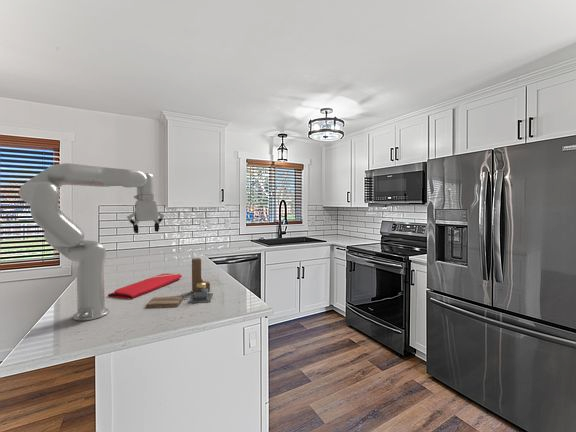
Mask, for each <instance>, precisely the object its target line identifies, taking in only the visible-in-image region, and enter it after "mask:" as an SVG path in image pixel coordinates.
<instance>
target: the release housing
mask: <svg viewBox="0 0 576 432" xmlns="http://www.w3.org/2000/svg"><path fill="white" fill-rule="evenodd" d="M212 297H214V293H213V292H209V291H208V288H206V289H196V290H195V292H194V293H192V295H191V296H190V299H189V301H188V303H189V304H195V303H199V304H200V303H211V302H212V299H213V298H212Z"/></svg>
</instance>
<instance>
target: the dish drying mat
mask: <svg viewBox="0 0 576 432" xmlns="http://www.w3.org/2000/svg"><path fill="white" fill-rule="evenodd" d="M182 277H183V275H182V274H180V273H178V274H177V273H161V274H159V275H155V276H152V277H149V278H146V279H144V280H141V281H138V282H135V283H132V284H129V285H126V286H123V287H120V288H117V289H116V290H114V292H112V293H108V294H107V297H109V298H116V299H117V298H118V299H128V300H133V299H137V298H138V297H141V296H143V295H146V294H149V293H151V292H153V291H154V290H158V289H160V288H162V287H165V286H167V285H168V284H171V283H174V282H176V281H178V280H179V279H181V278H182Z"/></svg>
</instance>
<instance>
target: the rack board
mask: <svg viewBox="0 0 576 432" xmlns="http://www.w3.org/2000/svg"><path fill="white" fill-rule="evenodd" d="M183 300H184V295H175V296H174V295H173V296H169V295H168V296H154V297H152V298H151V299H150V300H149V301H148V302H147V303H146V304H145V308H146V309H150V308H151V309H153V308H171V307H173V308H174V307H175V308H176V307H179V306H180V304H182V301H183Z"/></svg>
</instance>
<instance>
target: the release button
mask: <svg viewBox="0 0 576 432" xmlns="http://www.w3.org/2000/svg"><path fill="white" fill-rule="evenodd" d="M203 288H206V283H204V282H202V283H197V289H203Z"/></svg>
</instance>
